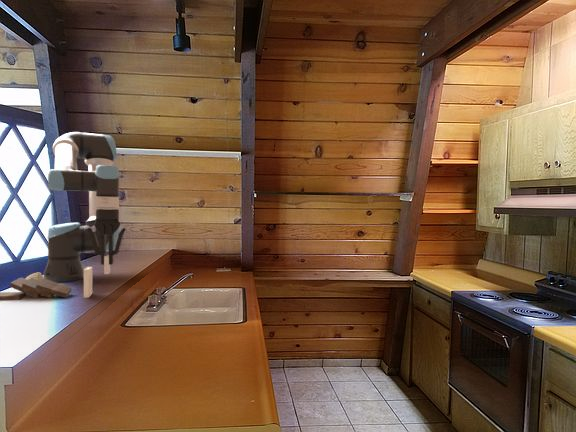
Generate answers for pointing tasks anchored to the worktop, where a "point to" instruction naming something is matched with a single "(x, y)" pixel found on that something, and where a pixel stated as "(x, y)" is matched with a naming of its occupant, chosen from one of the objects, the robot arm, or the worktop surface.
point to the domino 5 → (87, 282)
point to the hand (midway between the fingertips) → (107, 273)
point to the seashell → (35, 276)
